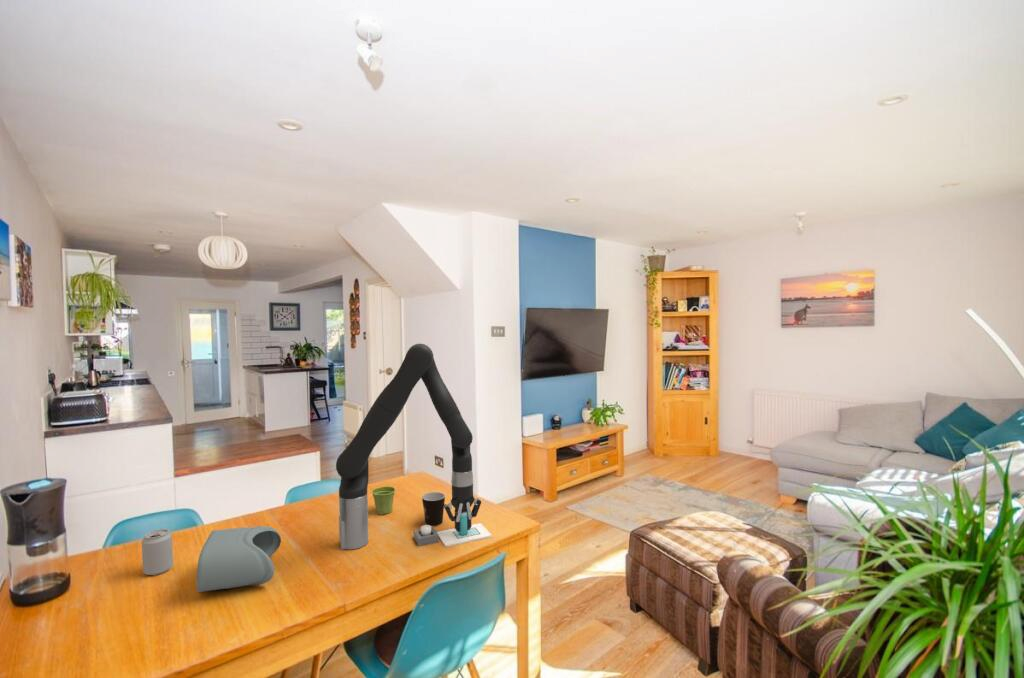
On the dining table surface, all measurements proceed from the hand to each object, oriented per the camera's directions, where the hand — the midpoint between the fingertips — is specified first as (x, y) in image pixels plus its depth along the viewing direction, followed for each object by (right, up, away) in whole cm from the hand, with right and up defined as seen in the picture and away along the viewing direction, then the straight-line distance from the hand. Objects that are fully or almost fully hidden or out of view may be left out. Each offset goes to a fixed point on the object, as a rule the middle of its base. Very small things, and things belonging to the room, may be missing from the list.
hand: (463, 529), depth 169 cm
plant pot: (-34, -1, +21) cm, 40 cm away
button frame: (-13, -2, -3) cm, 13 cm away
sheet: (0, -2, 0) cm, 2 cm away
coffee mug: (-12, -2, +13) cm, 18 cm away
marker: (0, -1, 0) cm, 1 cm away
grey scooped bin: (-64, -4, -25) cm, 69 cm away
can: (-92, -4, -22) cm, 95 cm away
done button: (-13, -1, -3) cm, 13 cm away
